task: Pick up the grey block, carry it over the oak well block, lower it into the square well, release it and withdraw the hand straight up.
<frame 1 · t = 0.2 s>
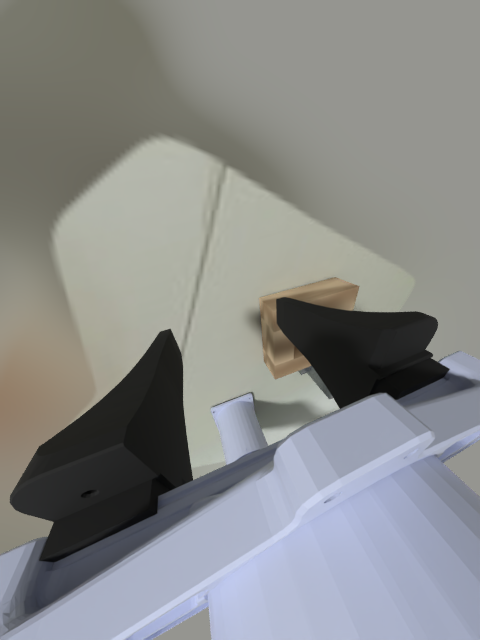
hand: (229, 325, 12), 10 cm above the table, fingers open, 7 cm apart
grey block: (307, 360, 33), on the table
well block: (296, 322, 27), on the table
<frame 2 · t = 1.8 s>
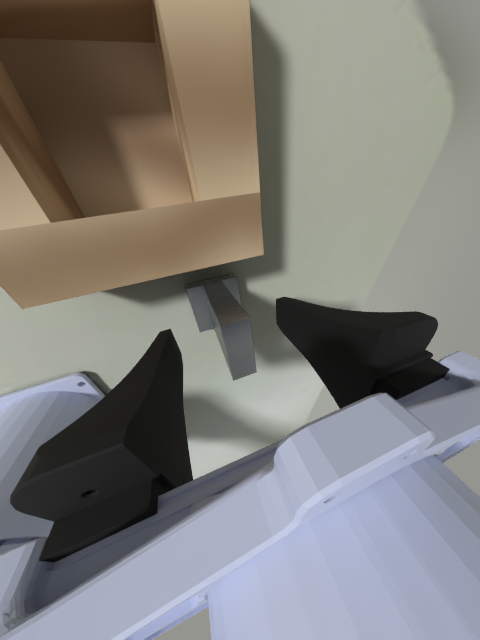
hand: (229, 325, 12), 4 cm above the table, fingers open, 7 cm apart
grey block: (215, 301, 15), on the table
well block: (119, 146, 9), on the table
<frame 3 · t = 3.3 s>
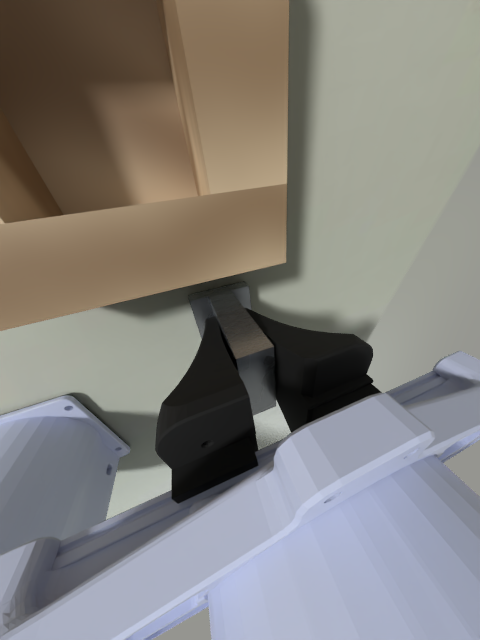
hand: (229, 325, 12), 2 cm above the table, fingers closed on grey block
grey block: (222, 312, 13), on the table, touching gripper
well block: (106, 125, 7), on the table
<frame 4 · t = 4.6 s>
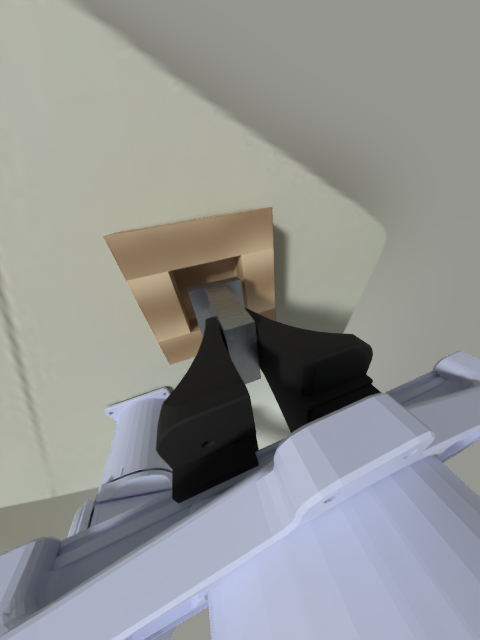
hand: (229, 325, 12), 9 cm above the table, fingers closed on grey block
grey block: (217, 304, 15), point 5 cm above the table, touching gripper
well block: (207, 282, 19), on the table
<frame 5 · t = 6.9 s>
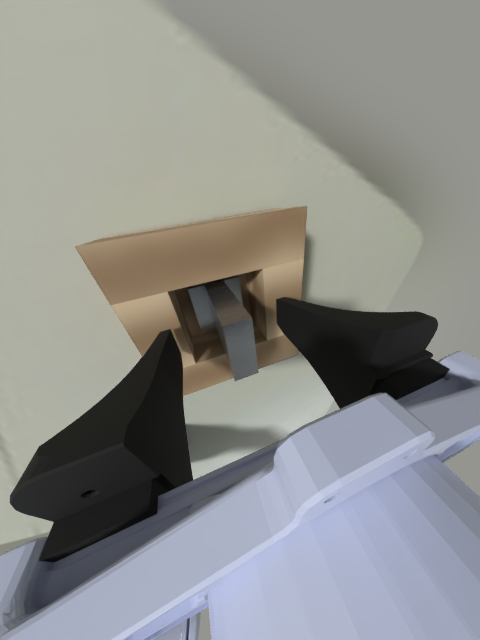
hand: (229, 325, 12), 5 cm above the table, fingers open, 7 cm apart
grey block: (216, 301, 15), resting on well block
well block: (215, 298, 15), on the table
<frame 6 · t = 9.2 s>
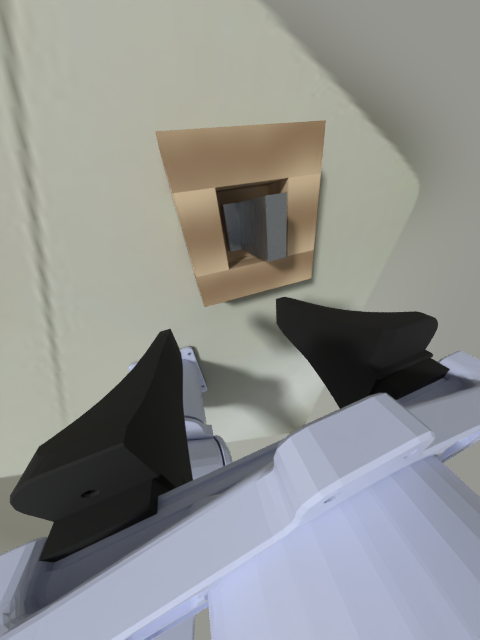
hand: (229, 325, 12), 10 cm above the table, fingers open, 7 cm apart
grey block: (243, 225, 18), resting on well block
well block: (241, 225, 18), on the table
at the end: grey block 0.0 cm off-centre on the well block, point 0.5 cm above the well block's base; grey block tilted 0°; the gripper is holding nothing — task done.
